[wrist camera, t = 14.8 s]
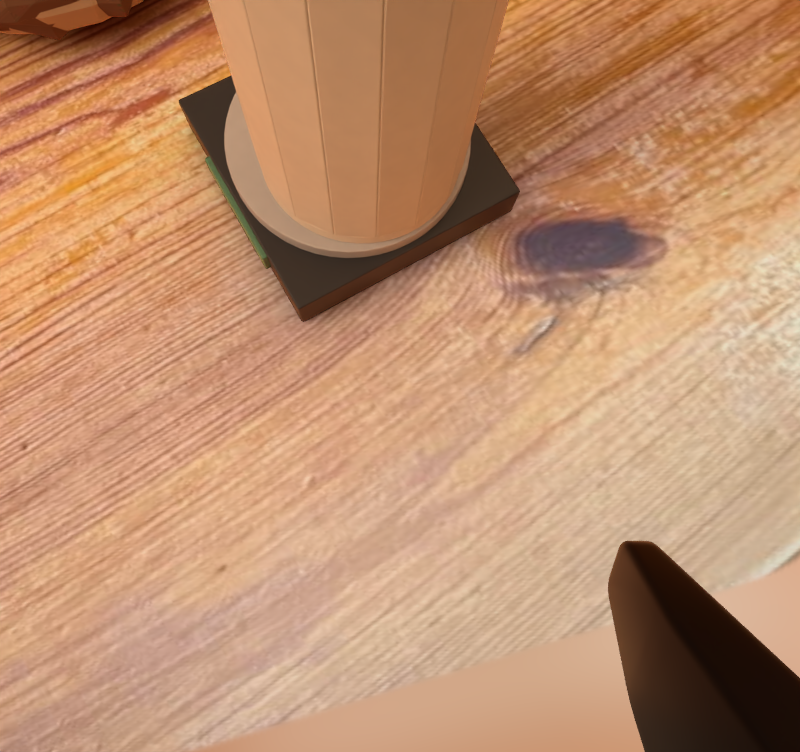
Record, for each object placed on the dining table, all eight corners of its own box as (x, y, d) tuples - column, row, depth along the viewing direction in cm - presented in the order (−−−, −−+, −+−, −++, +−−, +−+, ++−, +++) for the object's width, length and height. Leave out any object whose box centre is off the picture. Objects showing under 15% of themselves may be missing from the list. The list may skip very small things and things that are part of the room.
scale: (297, 325, 24) (291, 307, 22) (184, 127, 25) (167, 91, 23) (511, 210, 25) (525, 182, 23) (393, 28, 26) (395, -15, 24)
